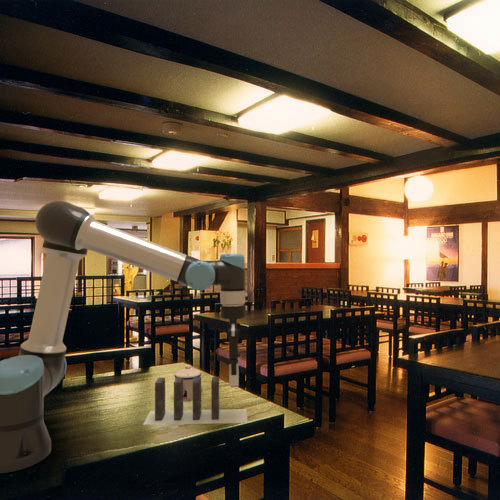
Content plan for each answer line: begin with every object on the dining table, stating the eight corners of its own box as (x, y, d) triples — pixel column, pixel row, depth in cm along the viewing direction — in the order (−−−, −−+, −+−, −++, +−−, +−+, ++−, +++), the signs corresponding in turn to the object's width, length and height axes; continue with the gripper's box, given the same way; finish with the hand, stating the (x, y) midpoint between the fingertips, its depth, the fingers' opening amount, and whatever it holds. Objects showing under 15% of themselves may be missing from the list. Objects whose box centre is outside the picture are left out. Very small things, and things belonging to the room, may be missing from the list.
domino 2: (173, 420, 114) (173, 382, 114) (176, 413, 119) (176, 377, 119) (180, 420, 114) (180, 382, 114) (183, 413, 119) (183, 377, 119)
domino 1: (155, 420, 114) (154, 382, 114) (158, 413, 119) (158, 377, 119) (161, 420, 114) (161, 382, 114) (165, 413, 119) (165, 377, 119)
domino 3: (192, 420, 114) (192, 382, 114) (194, 413, 119) (194, 377, 119) (199, 419, 114) (199, 382, 114) (201, 413, 119) (201, 377, 119)
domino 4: (211, 419, 114) (211, 382, 114) (212, 412, 119) (212, 376, 119) (218, 419, 114) (218, 381, 114) (219, 412, 119) (219, 376, 119)
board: (142, 428, 111) (142, 424, 111) (150, 414, 121) (150, 410, 121) (247, 426, 112) (247, 422, 112) (246, 412, 122) (246, 409, 122)
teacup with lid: (169, 399, 133) (169, 365, 133) (190, 392, 140) (190, 360, 140) (190, 409, 125) (190, 372, 125) (212, 401, 131) (212, 366, 132)
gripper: (246, 308, 108) (247, 392, 108) (245, 301, 126) (246, 373, 126) (219, 308, 108) (220, 392, 108) (222, 301, 126) (222, 373, 126)
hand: (234, 382), depth 117 cm, fingers closed on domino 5, 5 cm apart
